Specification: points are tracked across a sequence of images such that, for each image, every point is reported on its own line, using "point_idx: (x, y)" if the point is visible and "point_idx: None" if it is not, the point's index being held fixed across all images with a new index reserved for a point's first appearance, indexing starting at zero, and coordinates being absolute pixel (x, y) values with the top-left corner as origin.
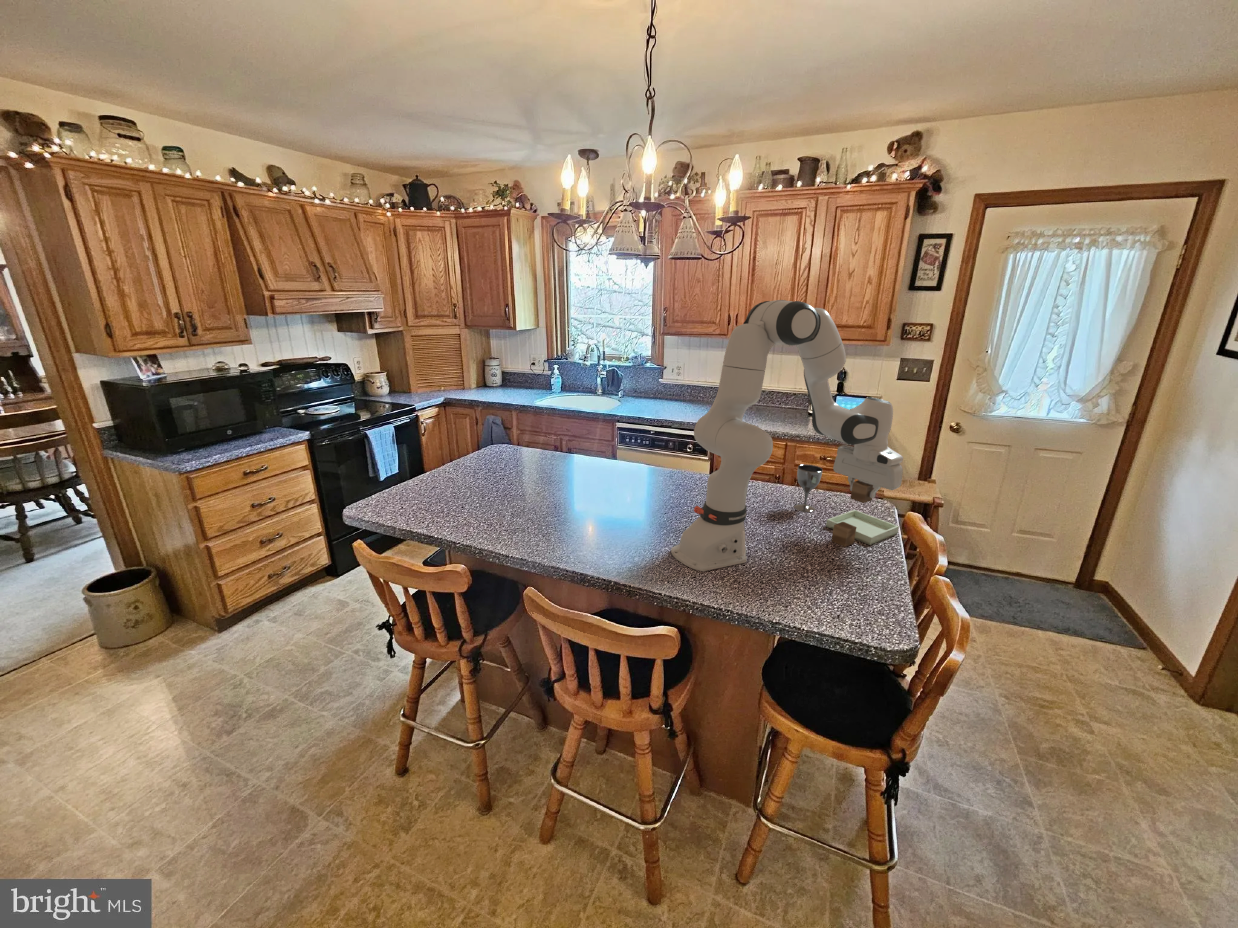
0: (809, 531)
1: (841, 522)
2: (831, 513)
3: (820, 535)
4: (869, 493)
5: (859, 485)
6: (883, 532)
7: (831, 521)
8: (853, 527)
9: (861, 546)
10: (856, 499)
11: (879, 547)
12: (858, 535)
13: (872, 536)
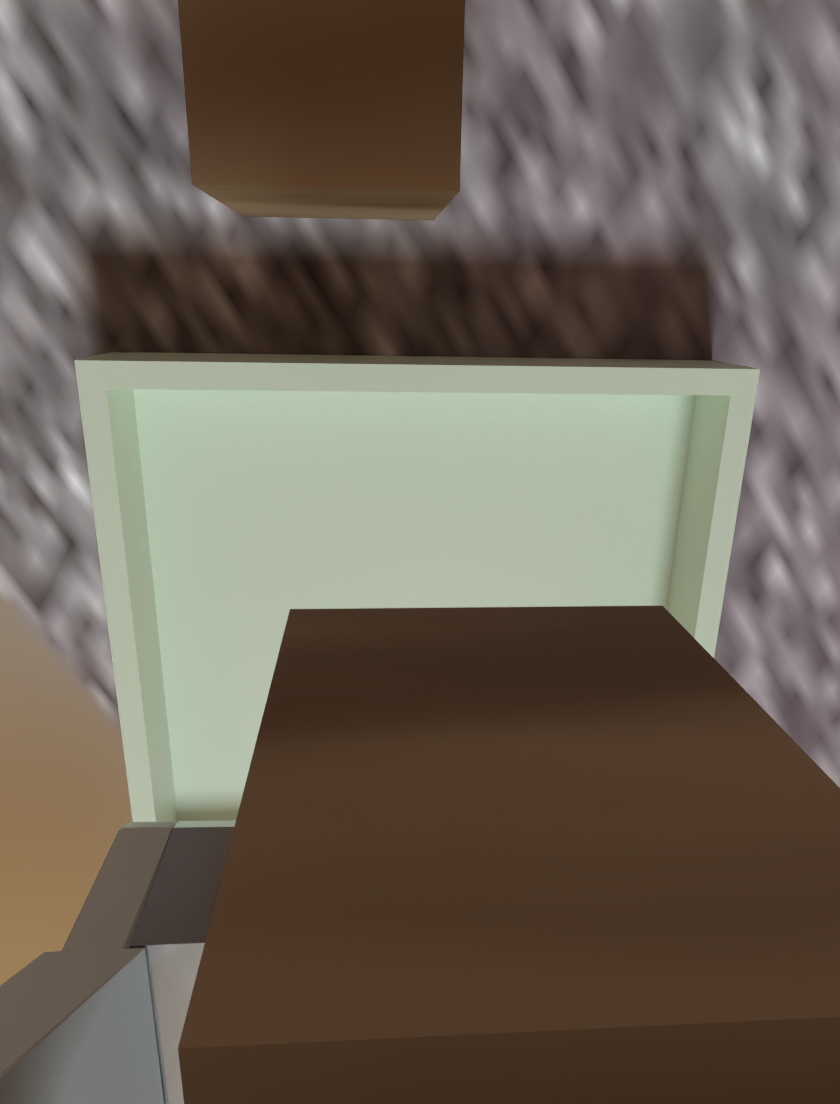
0: (779, 6)
1: (451, 123)
2: (833, 720)
3: (619, 28)
4: (198, 896)
5: (621, 958)
6: (114, 640)
7: (688, 368)
8: (206, 112)
9: (136, 222)
10: (504, 619)
11: (21, 397)
12: (269, 359)
13: (95, 410)
